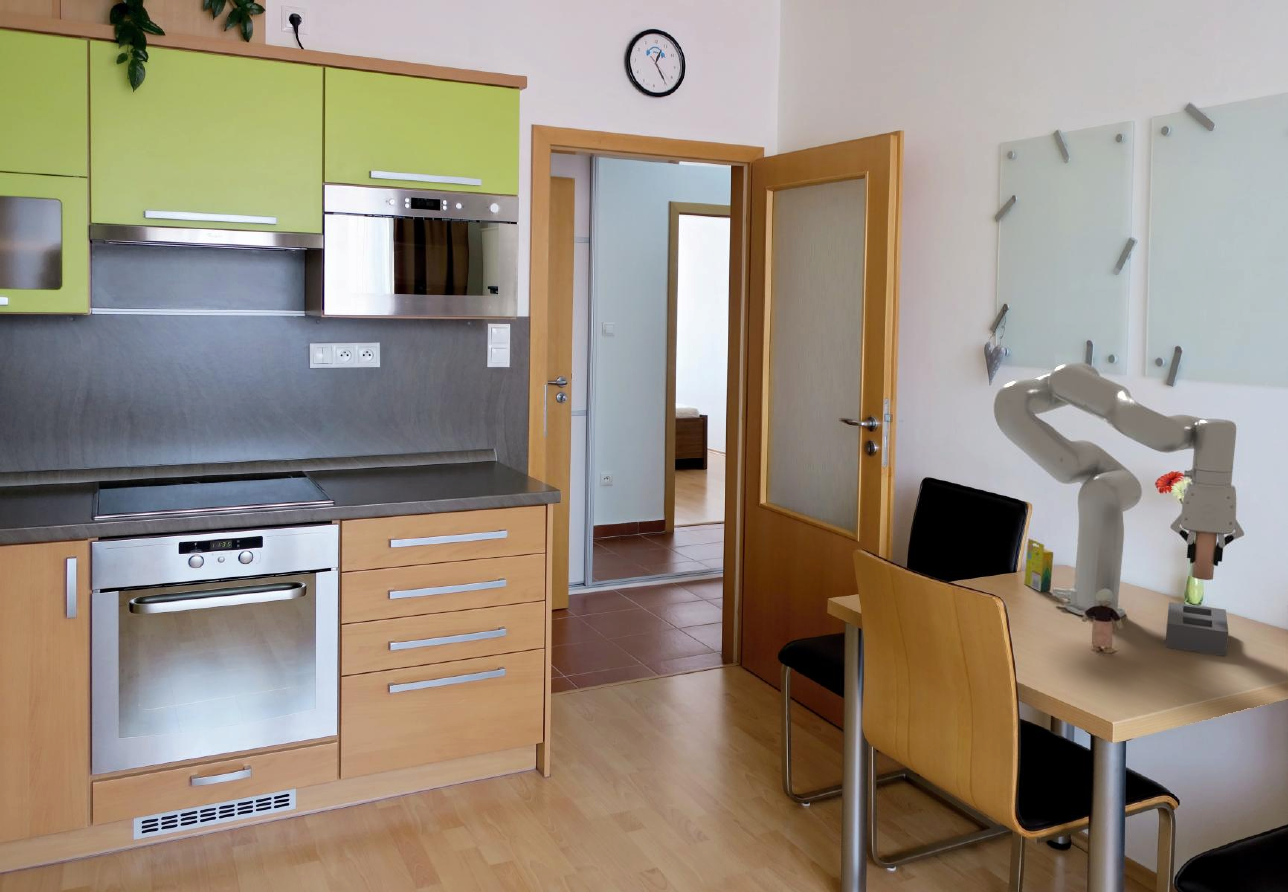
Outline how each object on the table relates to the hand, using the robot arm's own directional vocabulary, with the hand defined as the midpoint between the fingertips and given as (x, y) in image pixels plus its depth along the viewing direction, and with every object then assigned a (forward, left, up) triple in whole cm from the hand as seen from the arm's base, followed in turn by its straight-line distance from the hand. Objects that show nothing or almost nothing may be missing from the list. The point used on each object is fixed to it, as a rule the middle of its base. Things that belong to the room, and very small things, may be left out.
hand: (1203, 562), depth 231 cm
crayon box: (-35, +21, -16) cm, 43 cm away
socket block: (0, -4, -16) cm, 16 cm away
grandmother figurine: (-18, -22, -16) cm, 33 cm away
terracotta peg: (0, 0, -3) cm, 3 cm away
